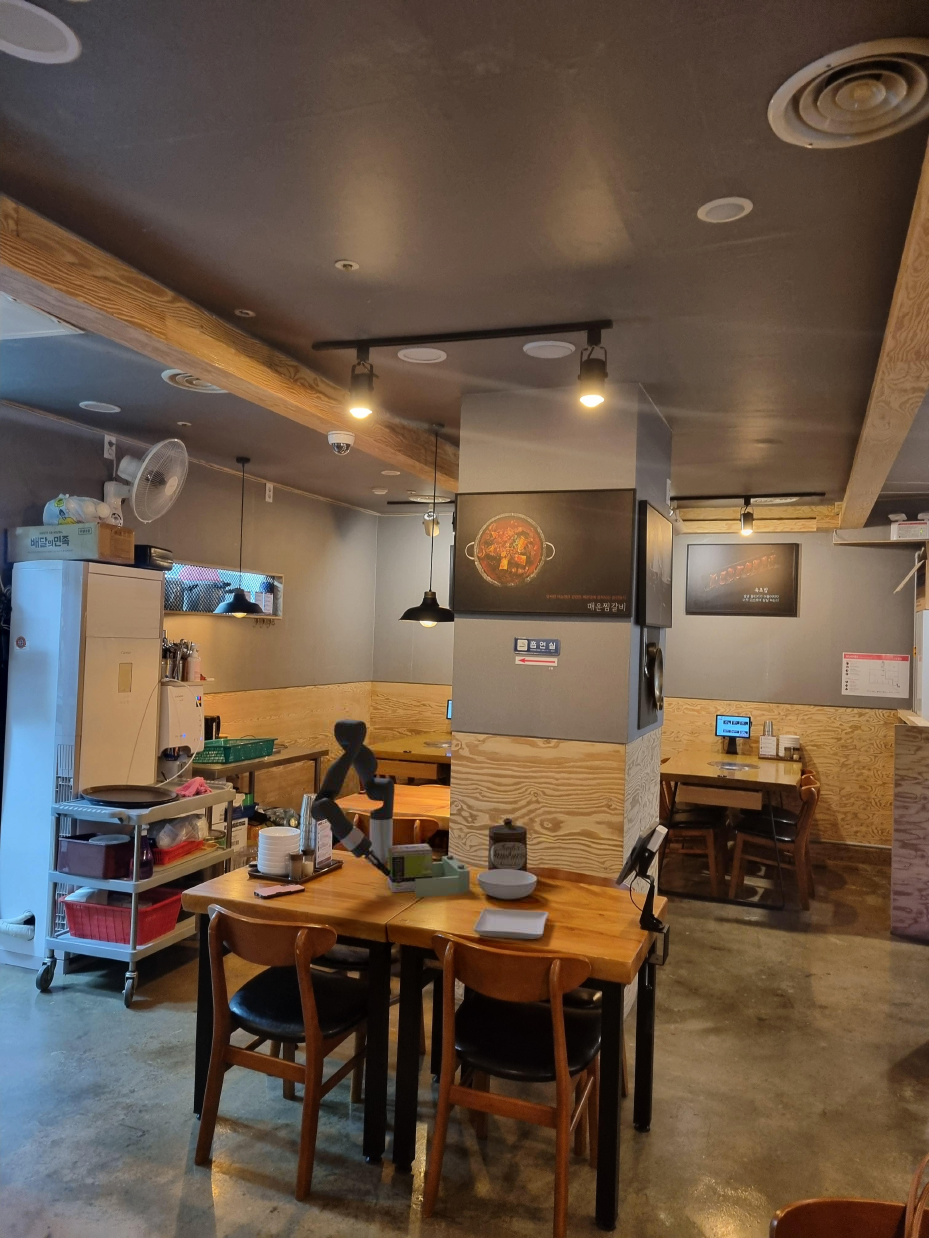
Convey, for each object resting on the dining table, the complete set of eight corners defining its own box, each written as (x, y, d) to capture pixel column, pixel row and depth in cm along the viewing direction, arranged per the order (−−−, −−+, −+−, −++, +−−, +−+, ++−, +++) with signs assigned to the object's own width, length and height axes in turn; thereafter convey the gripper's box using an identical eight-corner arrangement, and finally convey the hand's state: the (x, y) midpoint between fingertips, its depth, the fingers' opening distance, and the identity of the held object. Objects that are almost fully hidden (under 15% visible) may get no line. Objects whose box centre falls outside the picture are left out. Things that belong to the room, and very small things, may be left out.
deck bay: (401, 880, 316) (401, 856, 316) (451, 877, 322) (452, 853, 322) (415, 897, 295) (416, 871, 295) (469, 893, 301) (469, 867, 301)
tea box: (427, 883, 313) (428, 842, 314) (432, 890, 303) (433, 849, 304) (387, 885, 310) (387, 844, 310) (391, 893, 300) (391, 850, 300)
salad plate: (472, 939, 254) (472, 928, 254) (483, 917, 275) (483, 906, 275) (542, 945, 251) (542, 933, 251) (548, 922, 271) (548, 911, 272)
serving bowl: (533, 906, 286) (533, 886, 287) (472, 902, 290) (472, 882, 291) (540, 889, 307) (540, 870, 307) (483, 885, 311) (483, 866, 311)
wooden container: (490, 881, 316) (491, 822, 317) (486, 871, 331) (486, 814, 332) (529, 881, 317) (530, 822, 318) (523, 870, 332) (524, 814, 333)
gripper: (366, 837, 295) (400, 871, 298) (360, 829, 308) (392, 861, 311) (351, 853, 293) (385, 887, 296) (345, 845, 306) (377, 877, 309)
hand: (388, 874), depth 303 cm, fingers closed
